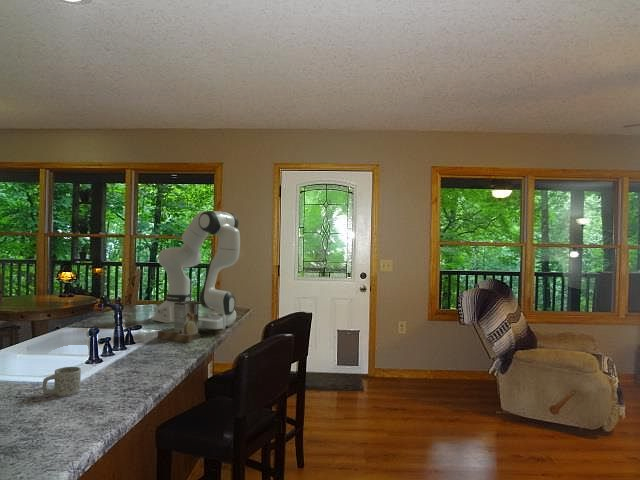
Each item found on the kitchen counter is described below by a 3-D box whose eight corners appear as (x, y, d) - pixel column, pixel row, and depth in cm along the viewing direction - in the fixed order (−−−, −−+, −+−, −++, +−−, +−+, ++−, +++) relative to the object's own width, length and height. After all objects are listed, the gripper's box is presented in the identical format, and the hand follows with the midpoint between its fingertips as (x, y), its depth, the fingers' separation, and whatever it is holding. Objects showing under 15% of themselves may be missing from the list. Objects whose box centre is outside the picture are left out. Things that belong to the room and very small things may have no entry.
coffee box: (187, 335, 218) (188, 300, 218) (198, 336, 215) (199, 301, 215) (173, 338, 210) (174, 302, 210) (184, 340, 207) (185, 303, 207)
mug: (74, 387, 142) (74, 365, 142) (84, 392, 138) (84, 369, 138) (37, 395, 134) (38, 372, 134) (47, 401, 130) (47, 377, 130)
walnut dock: (157, 337, 211) (157, 331, 211) (173, 334, 220) (173, 327, 220) (189, 343, 203) (189, 336, 203) (204, 338, 212) (204, 332, 212)
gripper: (194, 311, 234) (174, 315, 222) (228, 315, 225) (209, 320, 213) (194, 324, 234) (174, 329, 222) (227, 329, 225) (209, 334, 213)
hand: (191, 324), depth 217 cm, fingers closed
